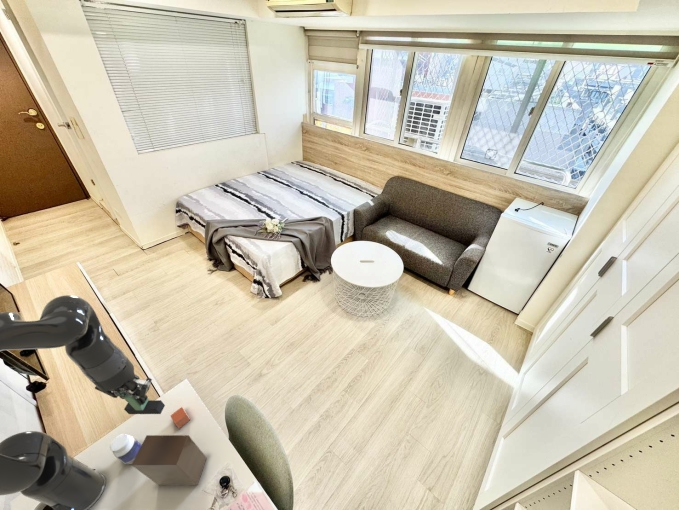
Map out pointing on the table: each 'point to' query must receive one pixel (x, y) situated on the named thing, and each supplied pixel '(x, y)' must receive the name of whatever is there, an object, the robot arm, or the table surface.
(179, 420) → the orange red cube
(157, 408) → the wiper
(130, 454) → the pill bottle
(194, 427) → the table surface
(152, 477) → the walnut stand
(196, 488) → the table surface
